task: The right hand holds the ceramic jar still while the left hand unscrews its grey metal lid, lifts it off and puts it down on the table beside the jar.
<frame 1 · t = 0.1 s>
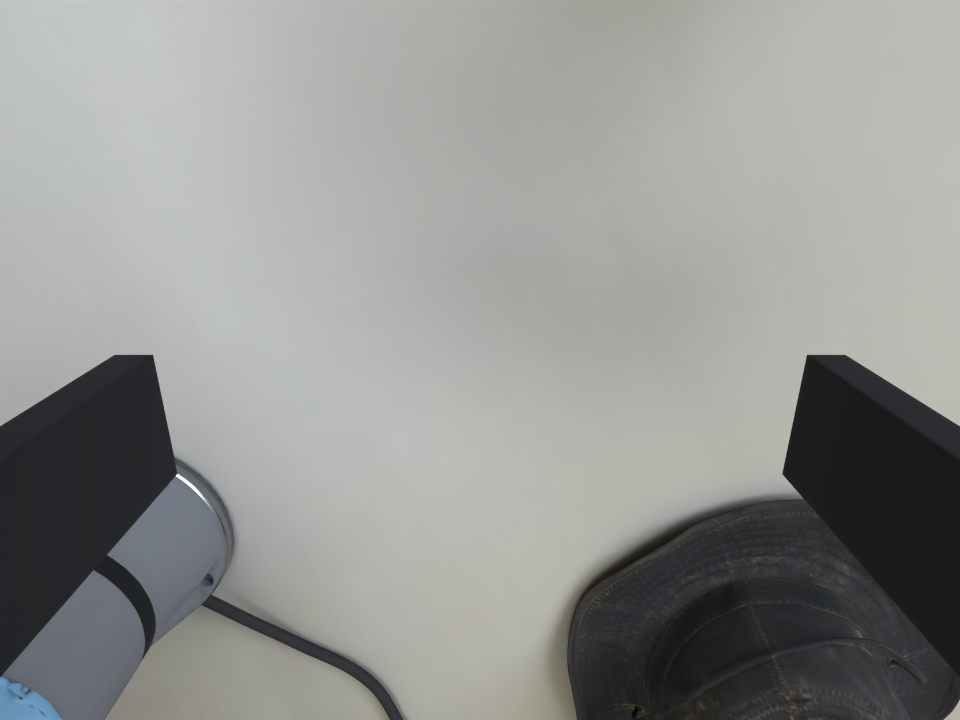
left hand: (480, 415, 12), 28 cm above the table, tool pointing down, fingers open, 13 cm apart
hat: (754, 666, 52), on the table
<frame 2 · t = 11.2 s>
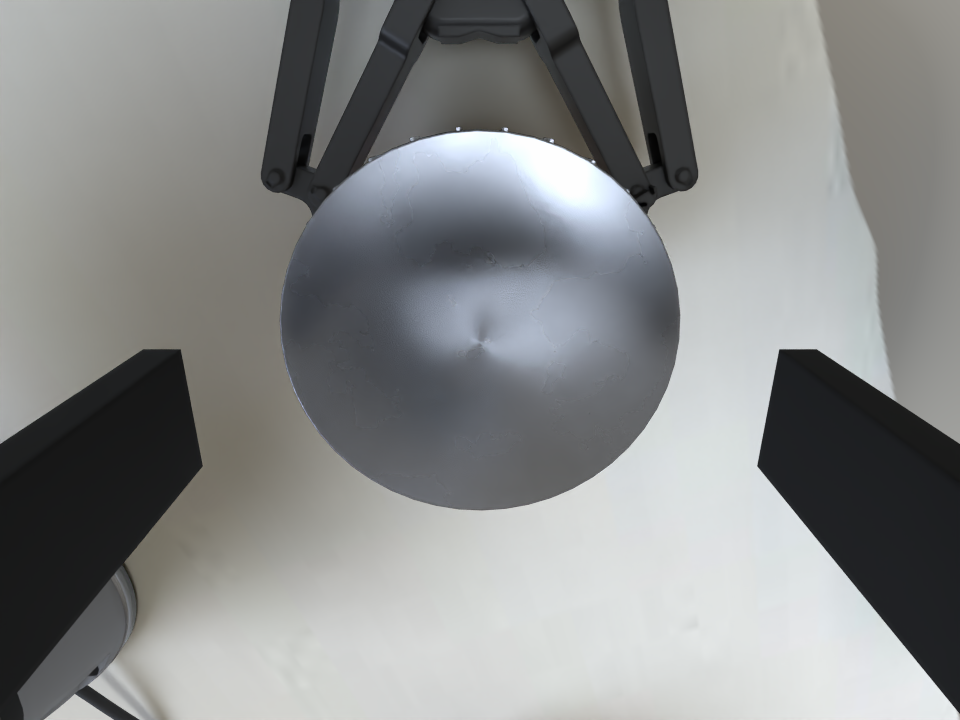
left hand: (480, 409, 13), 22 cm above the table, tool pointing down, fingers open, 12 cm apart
lid: (480, 338, 17), point 17 cm above the table, screwed on, not yet turned
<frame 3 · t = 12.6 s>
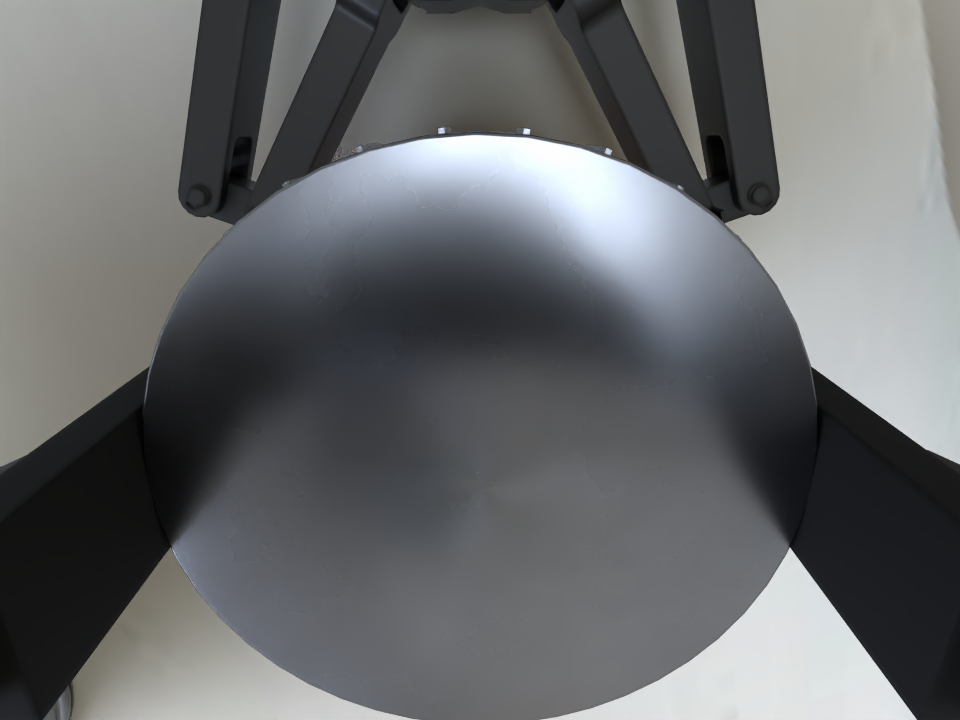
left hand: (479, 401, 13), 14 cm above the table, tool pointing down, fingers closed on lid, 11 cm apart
lid: (480, 475, 10), point 17 cm above the table, screwed on, not yet turned, touching left hand
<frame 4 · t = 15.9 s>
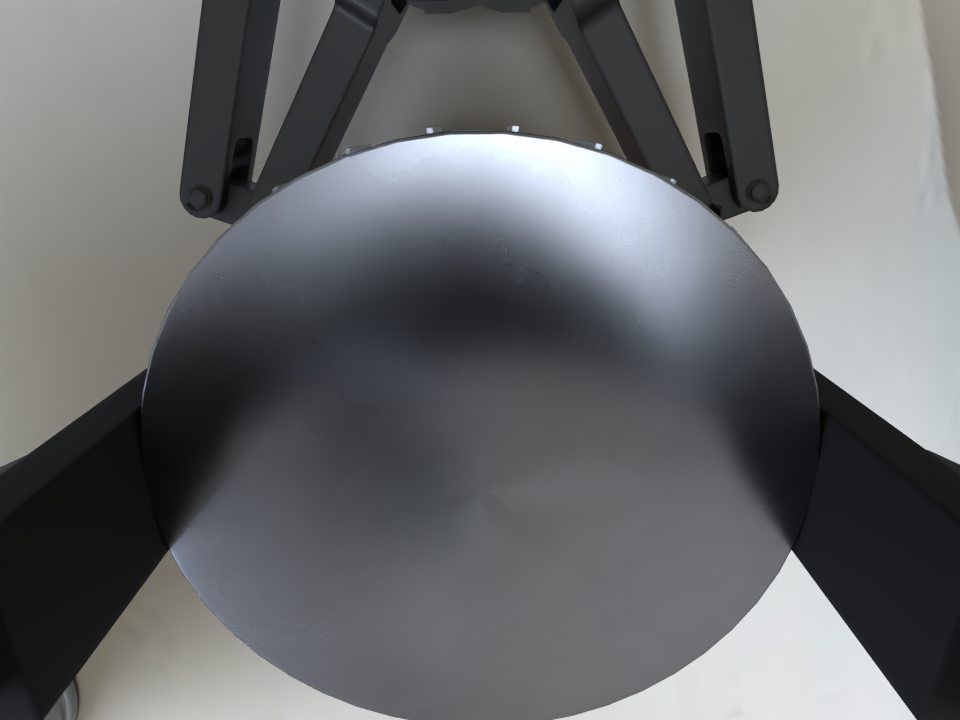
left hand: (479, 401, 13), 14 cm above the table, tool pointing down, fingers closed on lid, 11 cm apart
lid: (480, 476, 10), point 17 cm above the table, turned 101° so far, risen 0.1 cm, still on its thread, touching left hand
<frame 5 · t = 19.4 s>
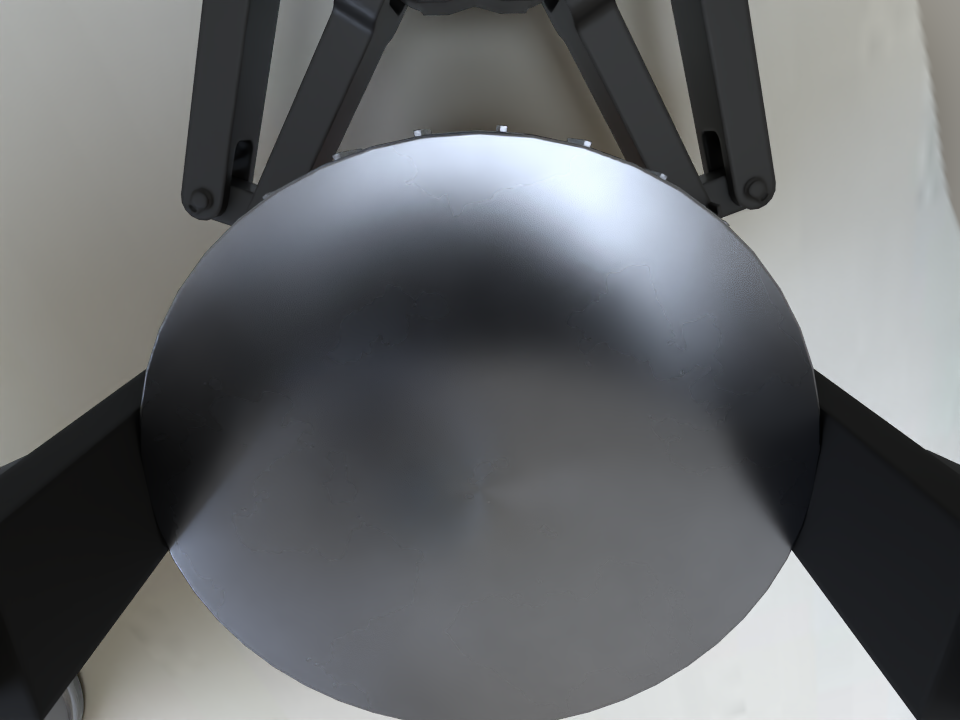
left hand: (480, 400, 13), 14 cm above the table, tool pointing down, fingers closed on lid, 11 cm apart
lid: (479, 477, 10), point 18 cm above the table, turned 201° so far, risen 0.3 cm, still on its thread, touching left hand
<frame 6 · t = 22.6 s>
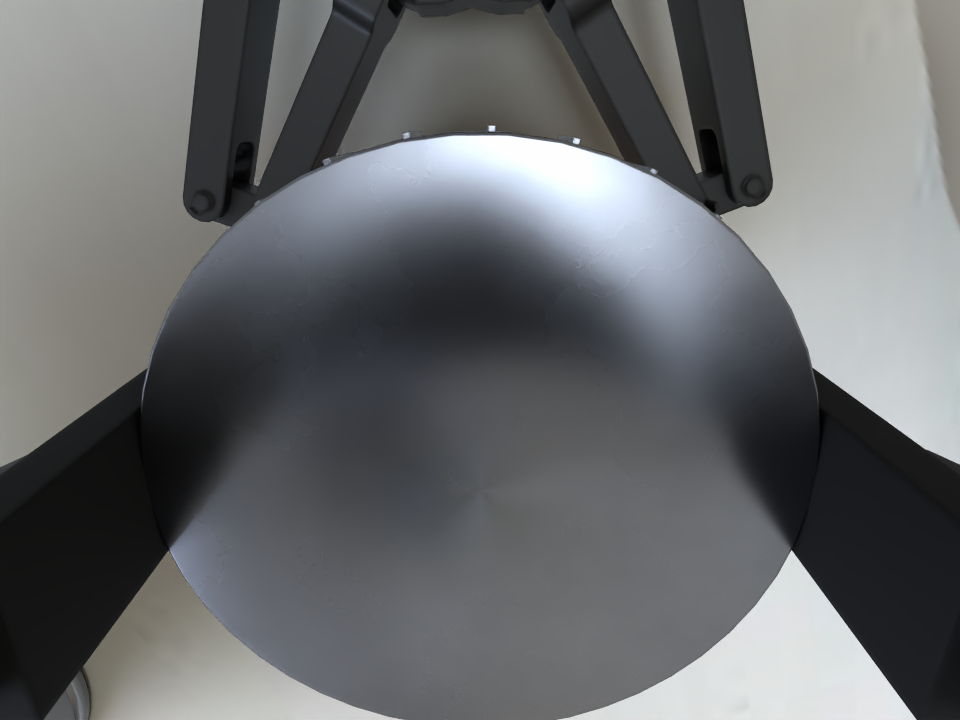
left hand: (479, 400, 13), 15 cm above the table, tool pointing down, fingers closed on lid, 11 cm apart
lid: (479, 477, 10), point 18 cm above the table, turned 302° so far, risen 0.4 cm, still on its thread, touching left hand
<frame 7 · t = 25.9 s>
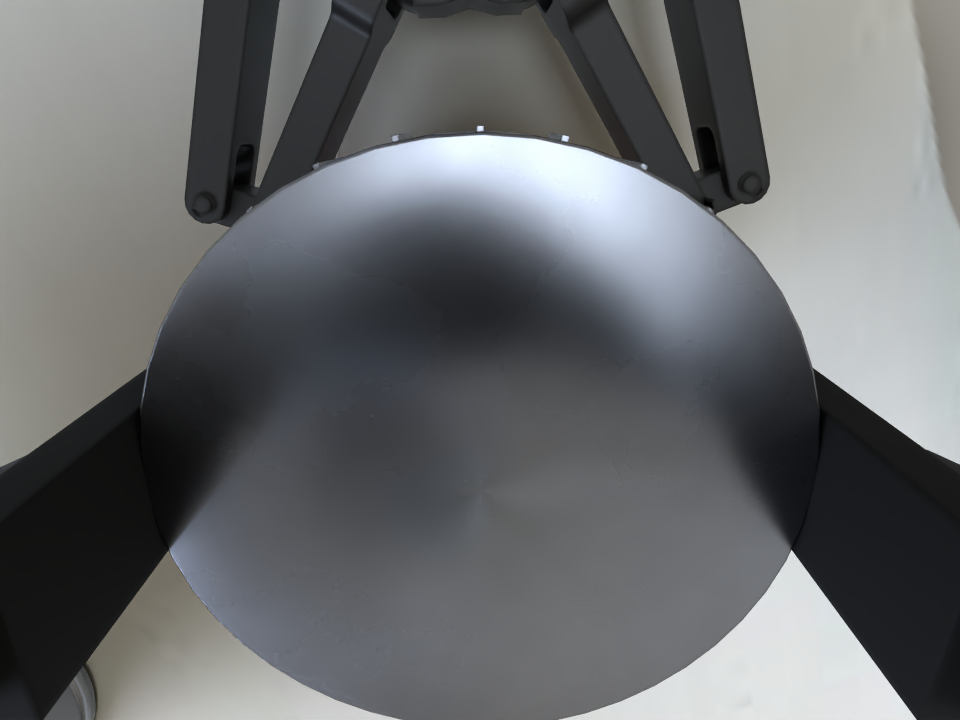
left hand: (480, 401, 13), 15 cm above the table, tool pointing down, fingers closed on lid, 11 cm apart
lid: (479, 478, 10), point 18 cm above the table, turned 402° so far, risen 0.6 cm, still on its thread, touching left hand
when the left hand's fingers open (0 cm above the table, at t = 32.7 s): lid drops 1 cm, point 2 cm above the table.
when the right hand's fingers open (7 cm above the table, at t = 33.7 s): jar stays where it is, on the table.
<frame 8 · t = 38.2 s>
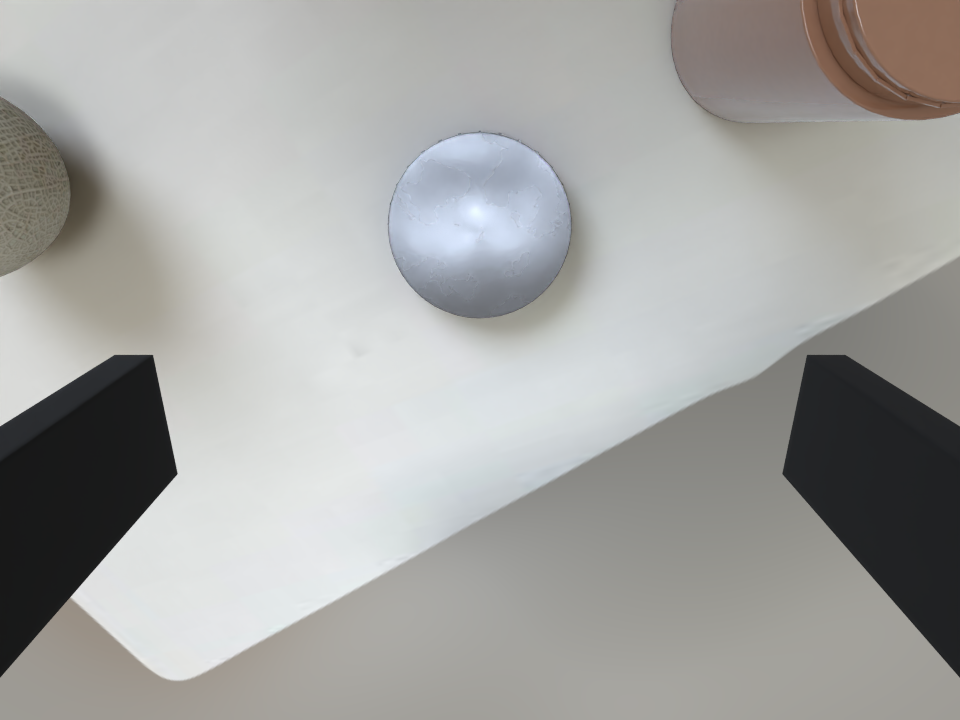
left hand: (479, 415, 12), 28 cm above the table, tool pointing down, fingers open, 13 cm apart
lid: (479, 229, 36), point 2 cm above the table, off its thread
jar: (761, 25, 34), on the table
fruit: (15, 172, 37), on the table
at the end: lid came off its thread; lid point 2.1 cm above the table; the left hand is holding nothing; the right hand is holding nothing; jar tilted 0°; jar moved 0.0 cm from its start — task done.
